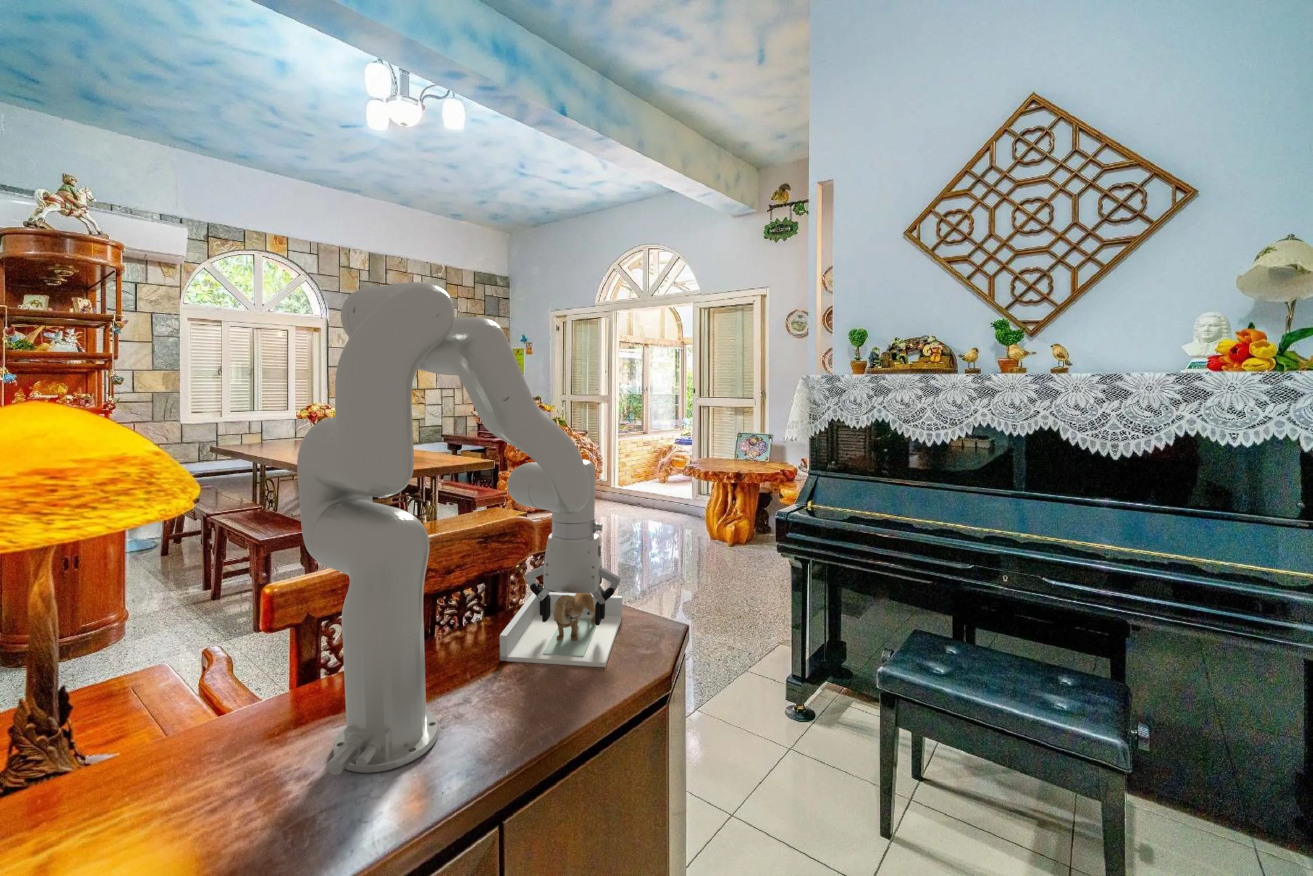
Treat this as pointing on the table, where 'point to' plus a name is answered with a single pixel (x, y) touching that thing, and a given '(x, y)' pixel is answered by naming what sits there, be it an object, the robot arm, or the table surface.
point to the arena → (539, 639)
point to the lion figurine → (572, 612)
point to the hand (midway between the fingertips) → (572, 620)
